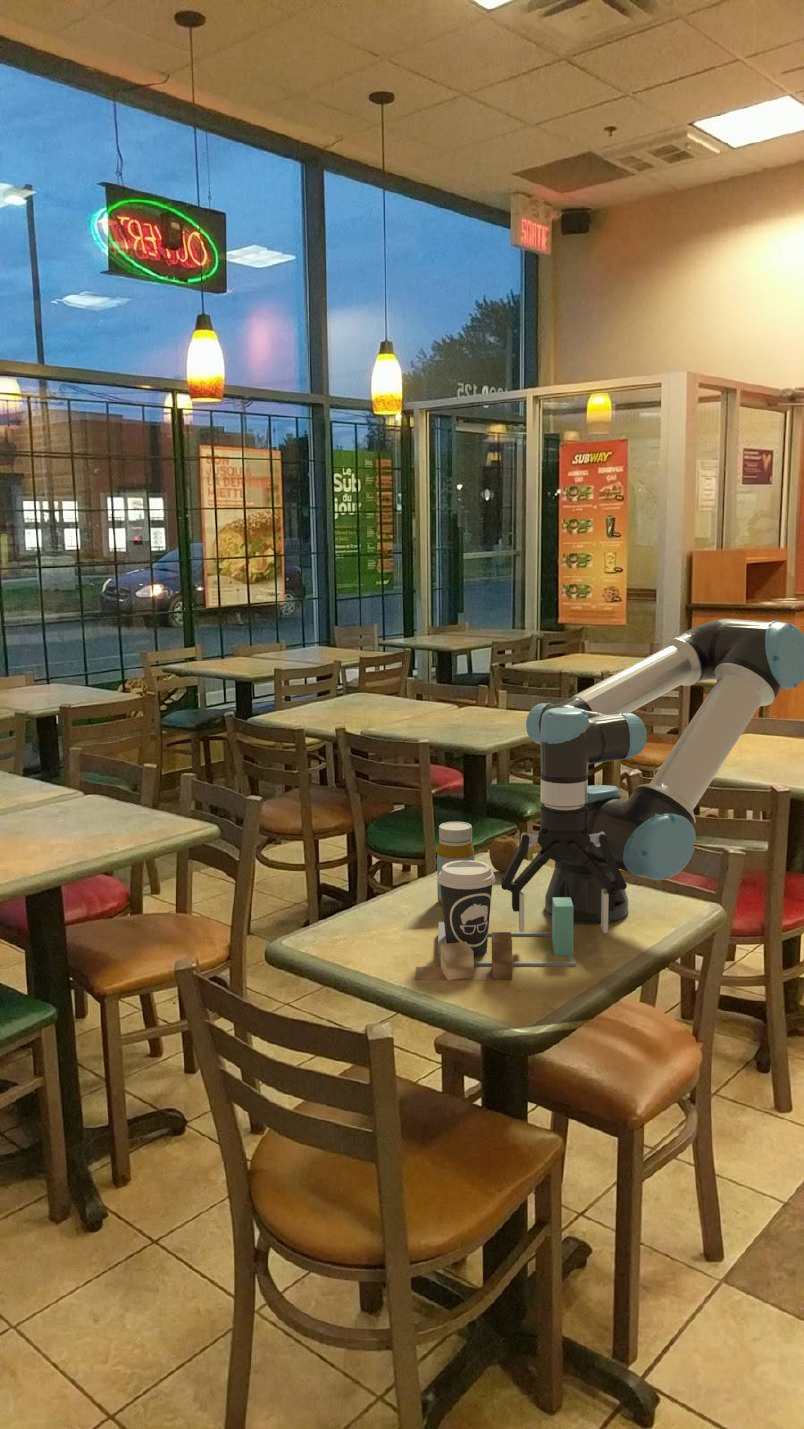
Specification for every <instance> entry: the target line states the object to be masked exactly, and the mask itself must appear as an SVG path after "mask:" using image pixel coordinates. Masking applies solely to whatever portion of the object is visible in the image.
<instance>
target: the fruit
mask: <svg viewBox="0 0 804 1429" xmlns="http://www.w3.org/2000/svg"><path fill="white" fill-rule="evenodd" d="M518 847H519V844H518V843H517V841H516V840H515V838H513V837H511V836H507V835H506V834H503V835H501V836H499V837H495V838H494V839H493V840H492V842H491V844H490V846H489V852H488V853H489V854H488V856H489V860H490V863H491V865H492V867H493V868H494V869H495V871H498V872H500V873H501V874H505V872H506V870H507V868H508V866H509V864H510V862H511V860H512V858H513V856H514V854H515V853H516V851H517V849H518Z"/></svg>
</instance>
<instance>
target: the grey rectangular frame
mask: <svg viewBox="0 0 804 1429" xmlns="http://www.w3.org/2000/svg"><path fill="white" fill-rule="evenodd" d="M573 912H574V906H573V903H572V900H571V897H552V915H551V921H552V922H551V927H552V928H551V931H524V932H520V931H510V932H511V937H551V943H552V944H551V945H552V950H553V954H554V955H556V956H559V955H560V956H567V960H566V961H565V960H563V961H559V960H558V961H555V960H554V961H551V960H550V961H535V960H533V961H530V960H529V961H526V960H525V961H521V960H520V961H519V960H518V961H514V960H512V967H577V961H576V959H575V956H574V922H573ZM492 932H493V931H488V937H492ZM437 936H438V937H437V967H441V945H440V944H446V935H445V925H444V921H438V932H437ZM474 967H492V960H490V961H487V960H486V961H484V960H482V961H480V960H479V961H478V960H474Z"/></svg>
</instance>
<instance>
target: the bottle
mask: <svg viewBox="0 0 804 1429" xmlns="http://www.w3.org/2000/svg"><path fill="white" fill-rule="evenodd" d="M438 837H439V839H438V841H439V842H438V846H437V849H436V863H437V864H436V867H437V868H436V871H437V877H436V879H437V878H438V875H439V872H440V871H441V870H442V866H443V865H444V864H446V863H449V862H452V861H459V860H473V861H475V849H474V845H473V826H472V824H470V823H469V822H464V821H447V822H442V823H441V824H440V825H438ZM436 881H437V880H436ZM436 884H437V885H436V886H437V901H438V903H439V904H440V905H441V906H443V905H442V896H441V886H440V884H439V883H438V881H437V883H436Z"/></svg>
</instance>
